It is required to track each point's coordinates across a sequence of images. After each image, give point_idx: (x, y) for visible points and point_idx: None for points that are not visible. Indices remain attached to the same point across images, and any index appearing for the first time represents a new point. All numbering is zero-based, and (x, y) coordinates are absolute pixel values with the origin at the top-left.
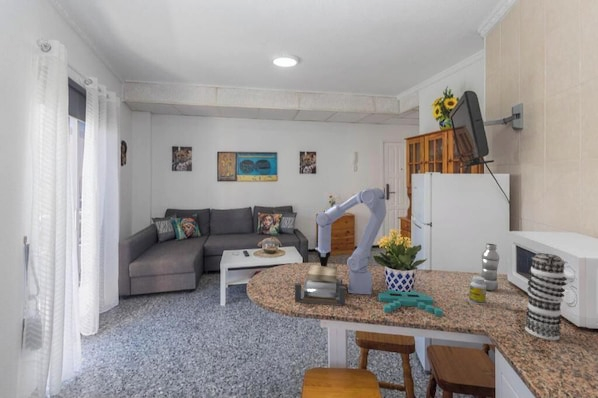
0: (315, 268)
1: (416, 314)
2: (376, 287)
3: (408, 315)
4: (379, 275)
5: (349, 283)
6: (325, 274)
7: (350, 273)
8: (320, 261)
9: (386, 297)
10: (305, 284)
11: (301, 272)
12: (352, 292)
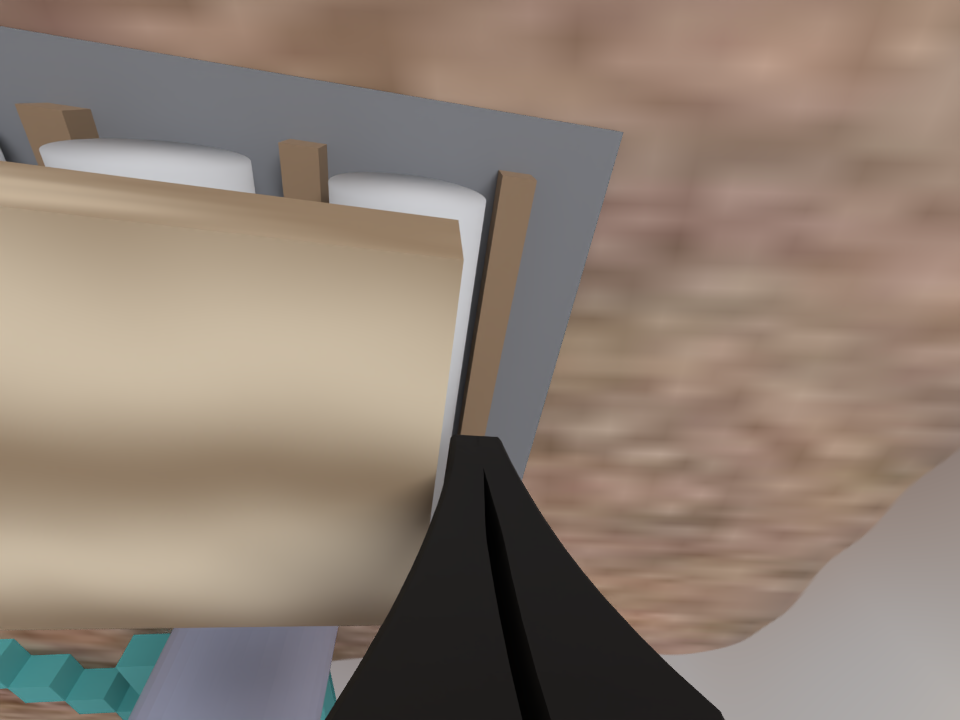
0: (218, 373)
1: (53, 711)
2: (373, 634)
3: (14, 695)
4: None
5: None
6: None
7: (156, 717)
8: (421, 545)
9: (132, 684)
10: (244, 91)
11: (866, 24)
12: None
